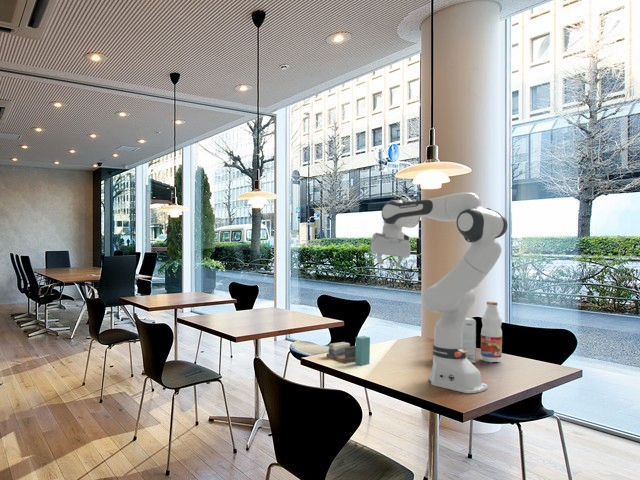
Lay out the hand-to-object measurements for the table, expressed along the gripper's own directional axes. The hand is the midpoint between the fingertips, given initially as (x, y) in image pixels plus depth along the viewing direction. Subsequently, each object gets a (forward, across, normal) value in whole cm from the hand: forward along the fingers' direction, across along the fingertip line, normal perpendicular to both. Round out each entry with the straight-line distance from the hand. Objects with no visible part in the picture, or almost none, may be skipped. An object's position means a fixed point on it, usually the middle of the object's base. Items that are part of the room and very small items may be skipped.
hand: (389, 265), depth 210 cm
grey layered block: (+45, -7, +19) cm, 49 cm away
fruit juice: (+40, +55, -11) cm, 69 cm away
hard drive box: (+41, +40, -5) cm, 58 cm away
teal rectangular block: (+46, -5, +8) cm, 46 cm away
